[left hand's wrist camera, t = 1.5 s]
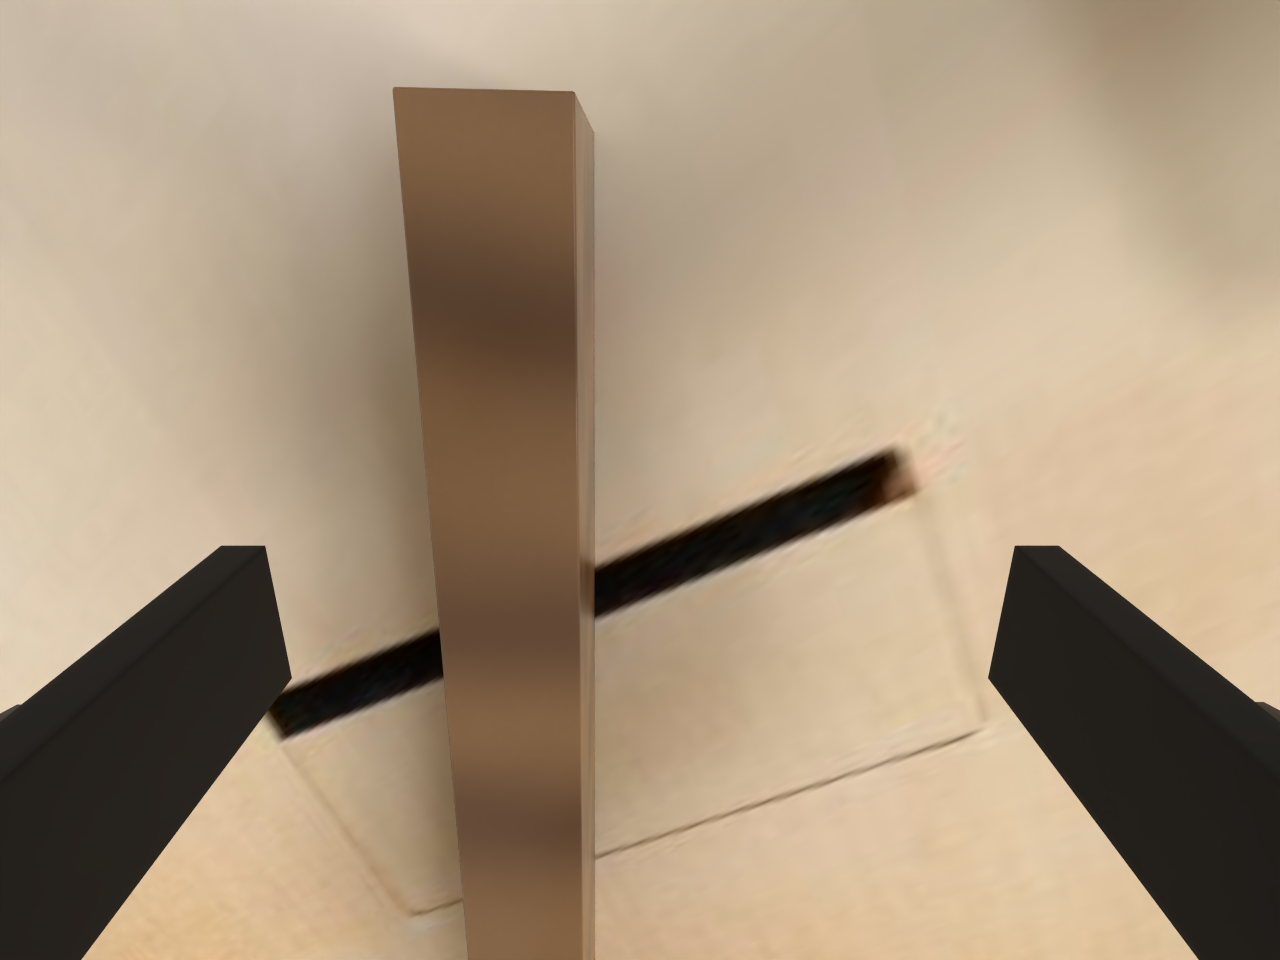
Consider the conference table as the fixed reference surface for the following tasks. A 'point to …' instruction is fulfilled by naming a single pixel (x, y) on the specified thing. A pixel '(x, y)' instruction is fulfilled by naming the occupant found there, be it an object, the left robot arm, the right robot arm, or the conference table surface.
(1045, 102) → the conference table surface
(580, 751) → the beam
